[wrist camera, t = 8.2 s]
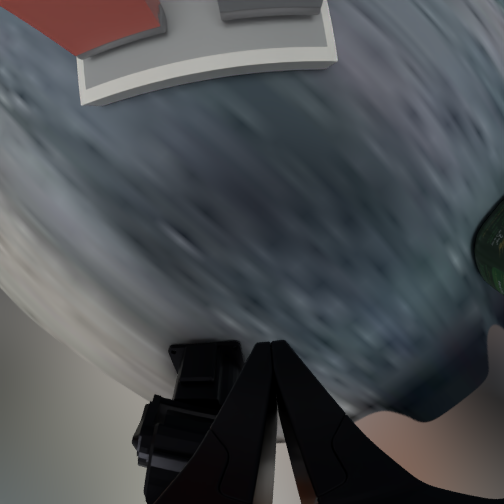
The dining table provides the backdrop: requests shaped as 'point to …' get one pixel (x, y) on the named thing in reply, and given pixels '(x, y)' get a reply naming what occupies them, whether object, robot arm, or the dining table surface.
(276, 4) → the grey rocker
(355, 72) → the dining table surface
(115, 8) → the upright red slab
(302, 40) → the shallow grey tray
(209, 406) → the robot arm
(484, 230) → the coffee jar
